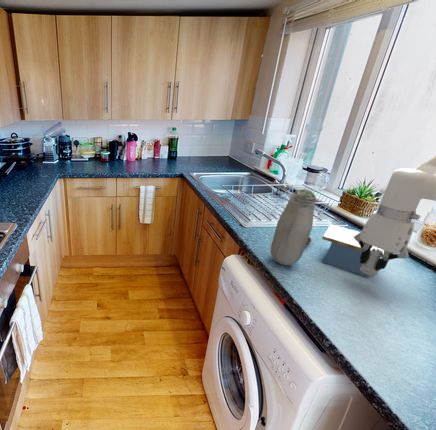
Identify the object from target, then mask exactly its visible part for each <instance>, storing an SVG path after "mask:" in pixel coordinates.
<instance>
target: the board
mask: <svg viewBox="0 0 436 430" xmlns="http://www.w3.org/2000/svg"><path fill="white" fill-rule="evenodd" d="M360 232H361V231H358V230H354V229H350V228H346V227H342V226H339V225H336V224H332V223H331V224H330V225H329V226H328V228H327V229H326V231H325V232H324V234H323V236H322V237H321V240H323V241H327V242H330V243H332V242H333V243H337V244H340V245H343V246H346V247H350V248H353V249H356V250H359V251H362V250H361V249H362V248H361V246H360V245H359V243H358V242H357V241H356V240H355V239H354V236H356V235H357V234H359V233H360ZM372 249H376V250H377V249H379V251H380V250H381V251H382V252H383V254H384V250H383V249H380V248H378V247H375V246H372V248H371V249H370V250H372ZM382 257H383V256H382ZM382 257H381V258H382Z"/></svg>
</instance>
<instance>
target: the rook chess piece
mask: <svg viewBox="0 0 436 430" xmlns="http://www.w3.org/2000/svg"><path fill="white" fill-rule="evenodd" d="M382 256H383V252H382V251H381V250H380V251H379V249H377V250H376V249H372V250H371V251H370V255H369V259H368V260H367V262H366V263H364V264H362V265H361V267H360V270H361V272H363V273H364V274H366V276H371V277H374V276H377V275H378V273H379V271H380V270H378V271H377V270H376V269H375V268H376V266H377V263H378V261H379V259H381V258H382Z"/></svg>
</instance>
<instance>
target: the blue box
mask: <svg viewBox="0 0 436 430" xmlns="http://www.w3.org/2000/svg"><path fill="white" fill-rule="evenodd" d="M362 252H363V251H359V250H356V249H353V248H350V247H346V246H343V245H340V244H337V243H333V242H330V245H329V247H328V251H327V253H326V255H325V258H324V261H323V262H324V263H325V264H329V265H331V266H334V267H337V268H340V269H342V270H343V269H344V270H346V271H348V272H352V273H354V274H357V275H360V276H363V277H366V276H367V274H364V273H363V272H361V270H360V267H361V265H362V264H364V263H362V264H361V263H360V261H361V259H360V256H361V254H362ZM365 263H366V262H365Z"/></svg>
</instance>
